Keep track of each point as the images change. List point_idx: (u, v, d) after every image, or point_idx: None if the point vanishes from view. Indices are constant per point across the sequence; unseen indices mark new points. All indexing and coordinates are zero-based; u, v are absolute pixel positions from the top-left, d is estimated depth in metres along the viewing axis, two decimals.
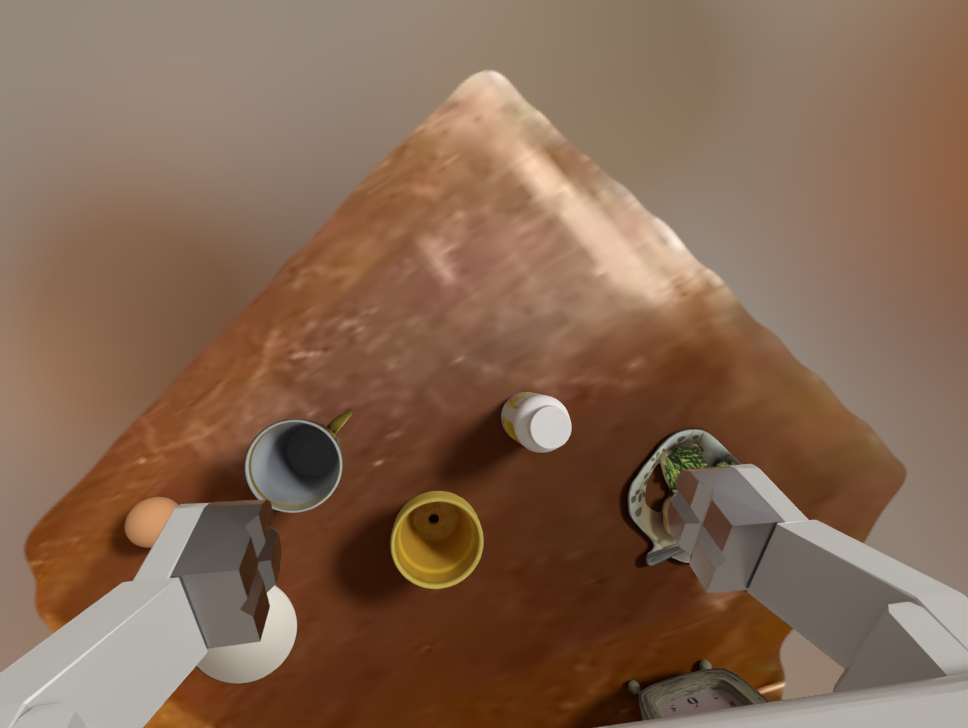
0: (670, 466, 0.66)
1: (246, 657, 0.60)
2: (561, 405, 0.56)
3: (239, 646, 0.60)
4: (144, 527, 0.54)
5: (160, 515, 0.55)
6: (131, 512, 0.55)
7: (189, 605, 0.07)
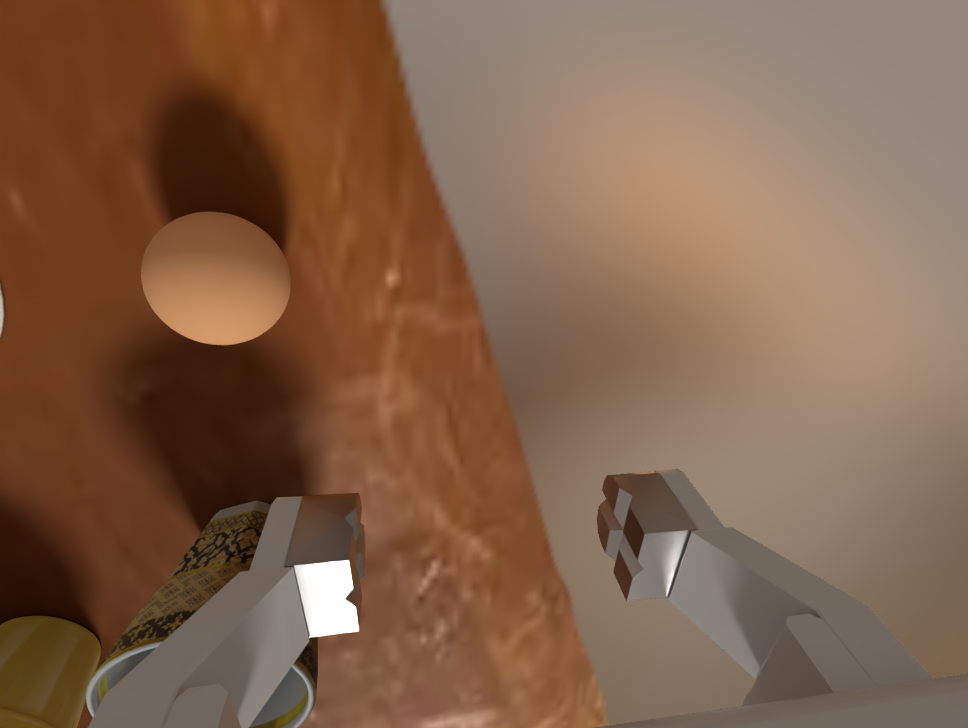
0: None
1: None
2: None
3: None
4: (200, 312, 0.19)
5: (223, 340, 0.20)
6: (263, 277, 0.20)
7: (298, 594, 0.08)
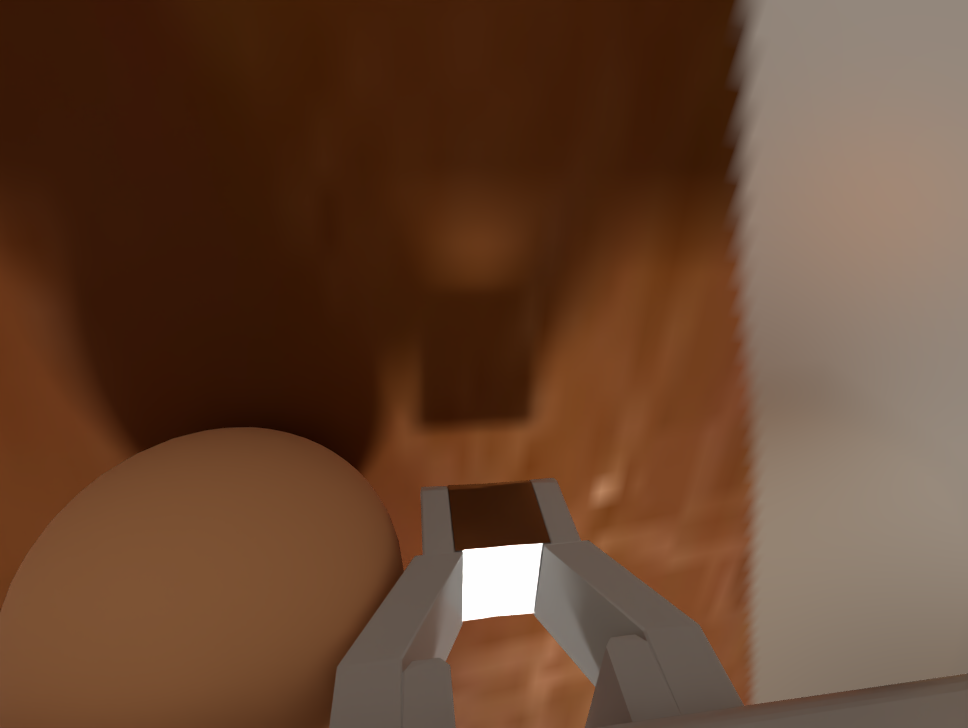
0: None
1: None
2: None
3: None
4: None
5: None
6: (331, 685, 0.06)
7: (461, 579, 0.08)
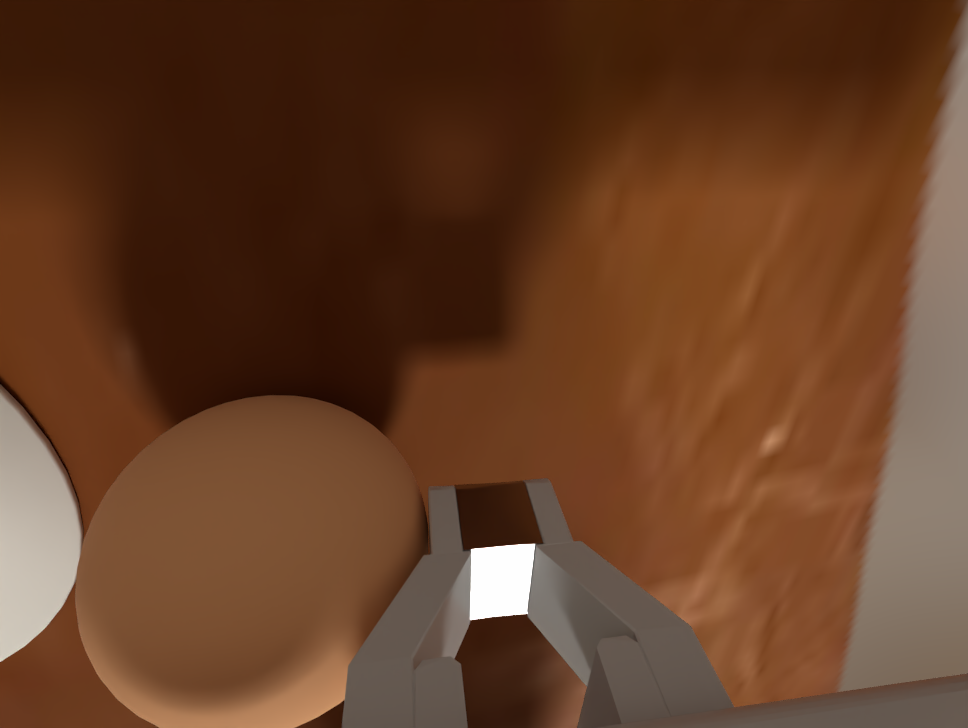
0: None
1: None
2: None
3: None
4: None
5: None
6: (204, 683, 0.06)
7: (470, 577, 0.08)
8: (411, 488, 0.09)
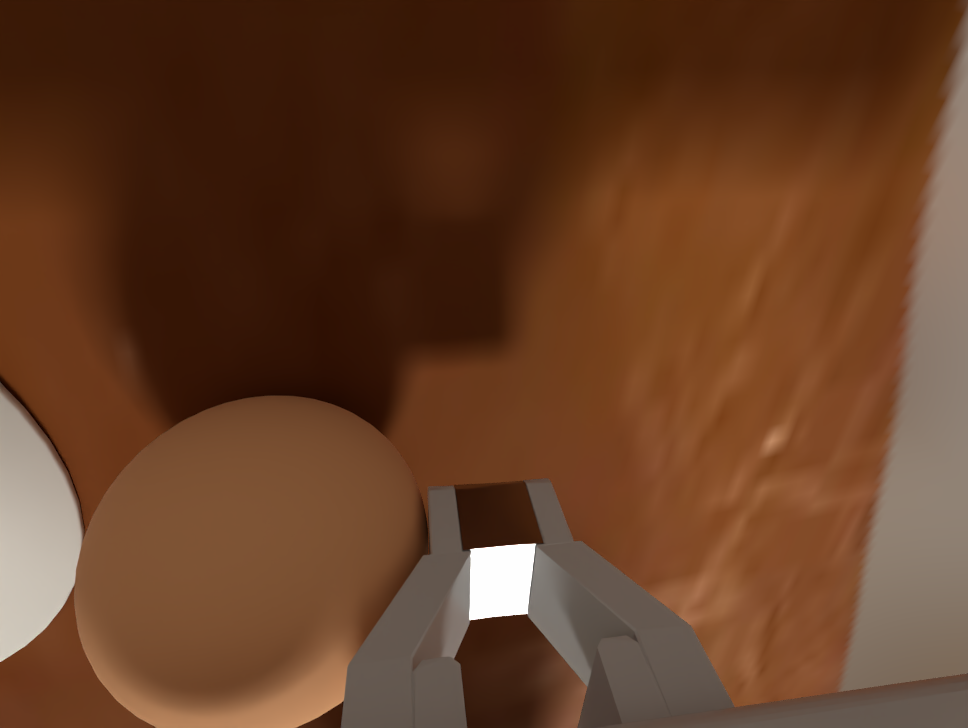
0: None
1: None
2: None
3: None
4: None
5: None
6: (203, 684, 0.06)
7: (469, 578, 0.08)
8: (410, 488, 0.09)
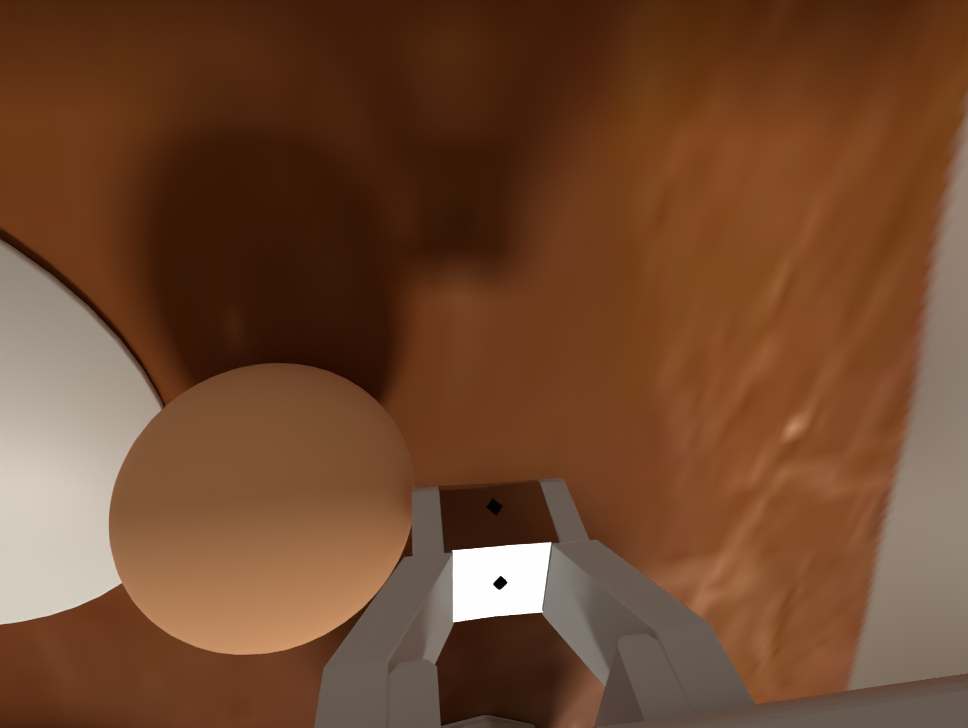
0: None
1: None
2: None
3: None
4: None
5: None
6: (137, 572, 0.08)
7: (452, 579, 0.08)
8: (377, 487, 0.09)
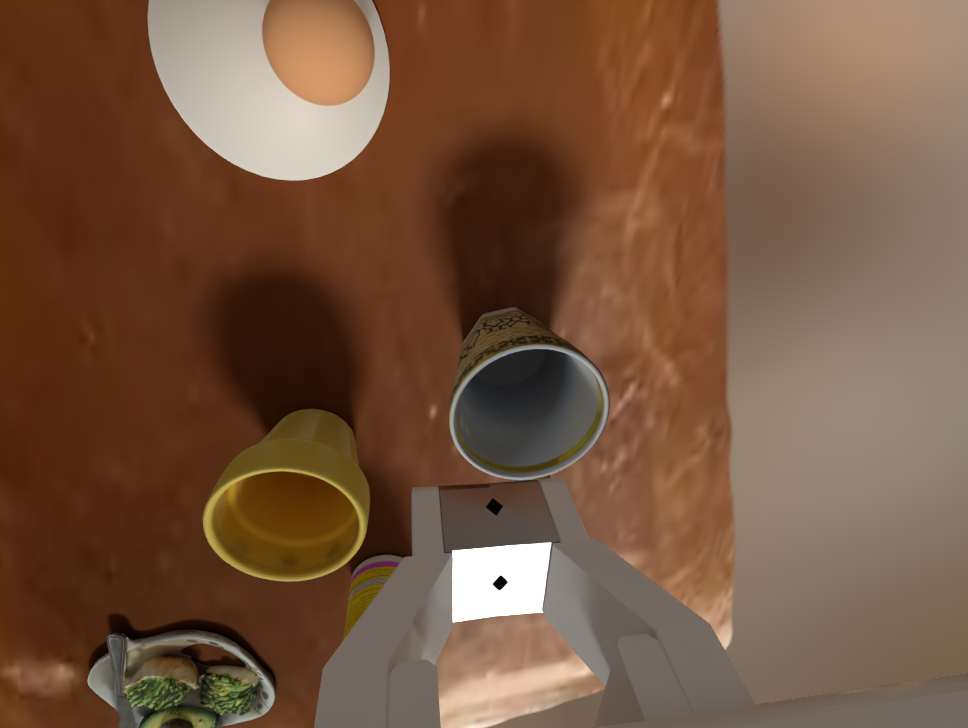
0: (237, 688, 0.52)
1: (210, 29, 0.27)
2: None
3: (242, 32, 0.27)
4: None
5: None
6: None
7: (452, 579, 0.08)
8: (268, 3, 0.24)
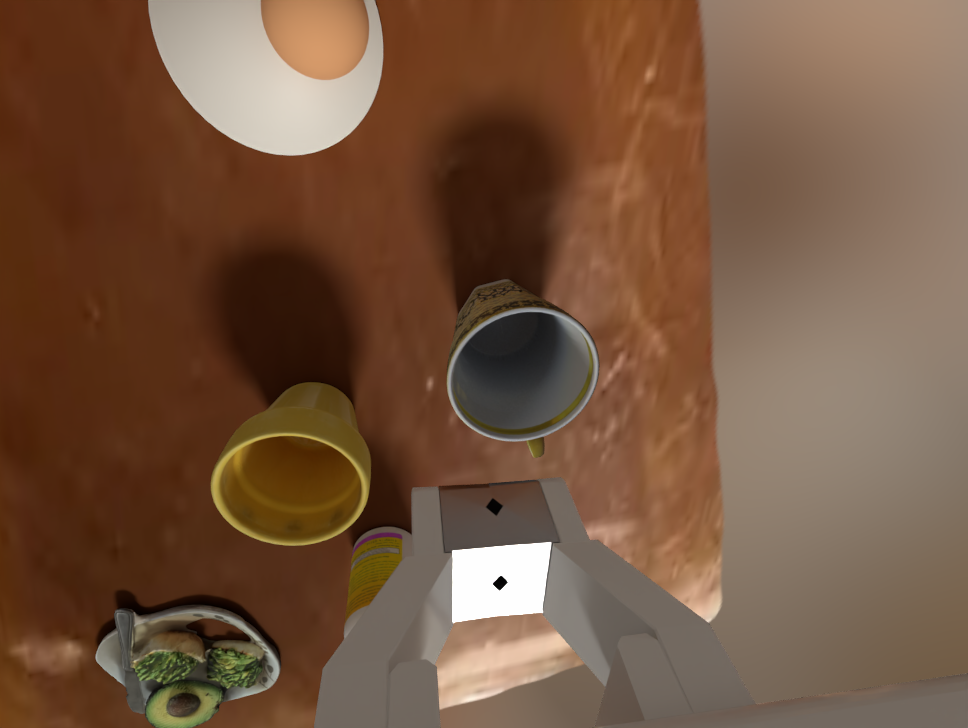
0: (243, 661, 0.53)
1: (208, 6, 0.28)
2: None
3: (240, 9, 0.28)
4: None
5: None
6: None
7: (452, 579, 0.08)
8: None
